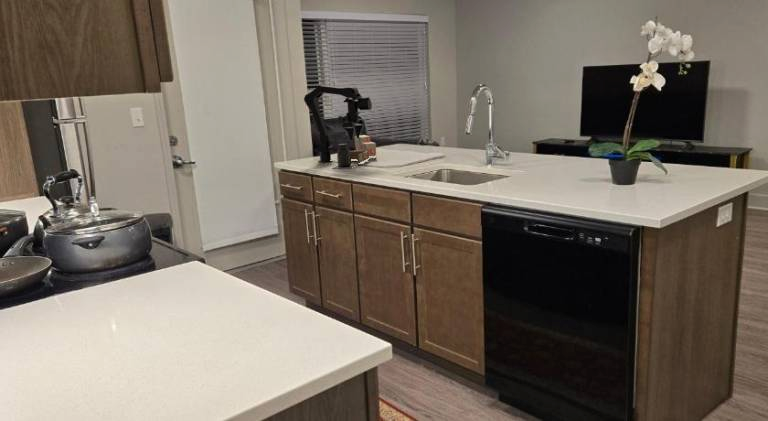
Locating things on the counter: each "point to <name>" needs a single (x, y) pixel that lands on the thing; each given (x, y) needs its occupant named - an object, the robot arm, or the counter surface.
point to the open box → (359, 155)
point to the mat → (343, 167)
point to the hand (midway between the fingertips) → (354, 138)
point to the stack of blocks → (365, 144)
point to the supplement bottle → (343, 156)
